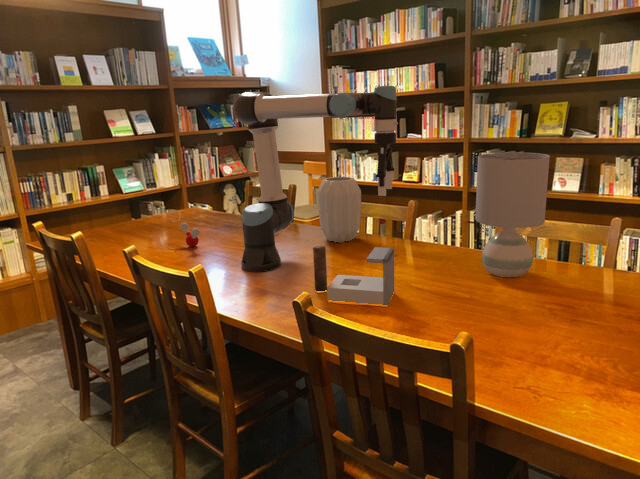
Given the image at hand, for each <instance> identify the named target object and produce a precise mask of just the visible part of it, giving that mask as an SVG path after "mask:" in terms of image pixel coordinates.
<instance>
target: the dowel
mask: <svg viewBox="0 0 640 479" xmlns="http://www.w3.org/2000/svg"><path fill="white" fill-rule="evenodd" d="M312 251H313V252H312V253H313V254H312V255H313V273H314V291H315V290H316V291H325V290H327V287H328V277H327V276H328V275H327V254H326V253H327V252H326V246H325V245H315V246H313V247H312Z"/></svg>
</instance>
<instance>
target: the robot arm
mask: <svg viewBox="0 0 640 479" xmlns="http://www.w3.org/2000/svg"><path fill="white" fill-rule="evenodd" d="M397 102H398V100H397V87H396V86H394V85H379V86H378V85H377V86H374V90H373V92H338V93H319V94H317V93H316V94H314V93H313V94H298V95H297V94H296V95H294V94H293V95H277V96H275V95H273V94H272V93H269V92H266V91H253V92H252V91H251V92H250V91H246V92H243V93H241V94H239V95H238V96H237V97H236V98H235V99H234V101H233V104H232V111H233V115H234V117H235V118H236V119H237V121H238V122H240V123H241V124H244V125H246V126H247V128H248V129H247V130H248V131H249V132H250V133H251V134H252V136H253V137H252V138H253V143H254V150H255V159H256V167H257V173H258V179H259V187H260V194H261V195H260V196H259V198H258V203H254V204H250V205H247V206H245V207H244V208H243V209H242V211H241V222H242V233H243V242H244V243H243V245H244V249H243V254H242V258H241V262H240V263H241V269H242V270H244V271H247V272H250V273H251V272H253V273H254V272H255V273H256V272H257V273H258V272H259V273H260V272H261V273H262V272H268V271H273V270H276V269H278V268H280V267H281V266H282V261H281V260H282V259H281V256H280V253H279V252H278V251H279V250H278V249H277V246H276V238H275V237H276V236H275V234H276V233H278V232H280V231H282V230H284V229H287V227H288V226H290V225H291V223H292V222H293V220H294V215H295V210H294V207H293V205H292V204H291V203H290V202H289V201H288V196H287V194H285V193H284V192H283V183H282V175H281V167H280V160H279V151H278V146H277V144H278V143H277V137H276V131H277V129H278V128H279V121H278V119H282V120H283V119H306V118H308V119H309V118H347V117H355V116H366V115H367V116H372V115H373V116H374V119H373V120H374V126H373V127H374V129H373V130H374V132H375V133H374V144H376V145H380V147H378V159H377V170H376V174H375V178H377V186H378V187H377V192H378V193H377V196H379V197H381V196H383V197H386V196H387V190H393V172H394V171H395V168H394V164H393V163H394V162H393V151H392V150H393V149H392V148H393V145H394V144H396V143H397V133H396V131H397V125H399V122H398V121H397V104H398V103H397Z"/></svg>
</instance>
